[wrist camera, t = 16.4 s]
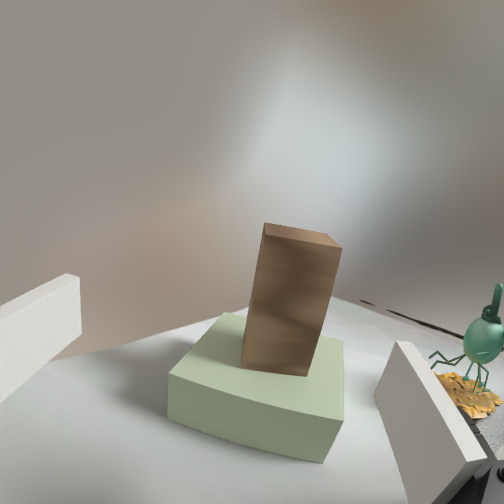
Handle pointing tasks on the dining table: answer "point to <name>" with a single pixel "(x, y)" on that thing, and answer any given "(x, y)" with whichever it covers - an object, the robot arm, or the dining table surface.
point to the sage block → (258, 395)
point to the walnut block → (289, 299)
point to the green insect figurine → (479, 351)
